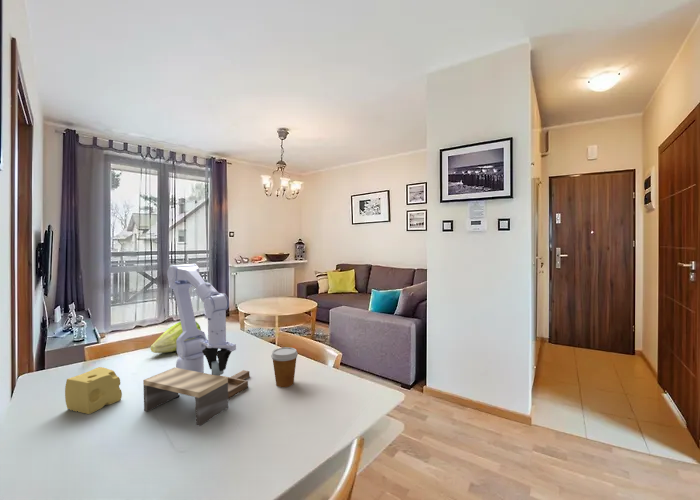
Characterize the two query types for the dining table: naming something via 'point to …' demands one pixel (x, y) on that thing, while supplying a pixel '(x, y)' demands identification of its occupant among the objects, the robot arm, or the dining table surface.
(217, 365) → the pale blue capsule
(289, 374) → the disposable coffee cup
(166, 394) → the counter shelf
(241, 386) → the tray
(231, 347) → the robot arm
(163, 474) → the dining table surface
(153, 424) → the dining table surface
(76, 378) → the cheese
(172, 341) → the lettuce
